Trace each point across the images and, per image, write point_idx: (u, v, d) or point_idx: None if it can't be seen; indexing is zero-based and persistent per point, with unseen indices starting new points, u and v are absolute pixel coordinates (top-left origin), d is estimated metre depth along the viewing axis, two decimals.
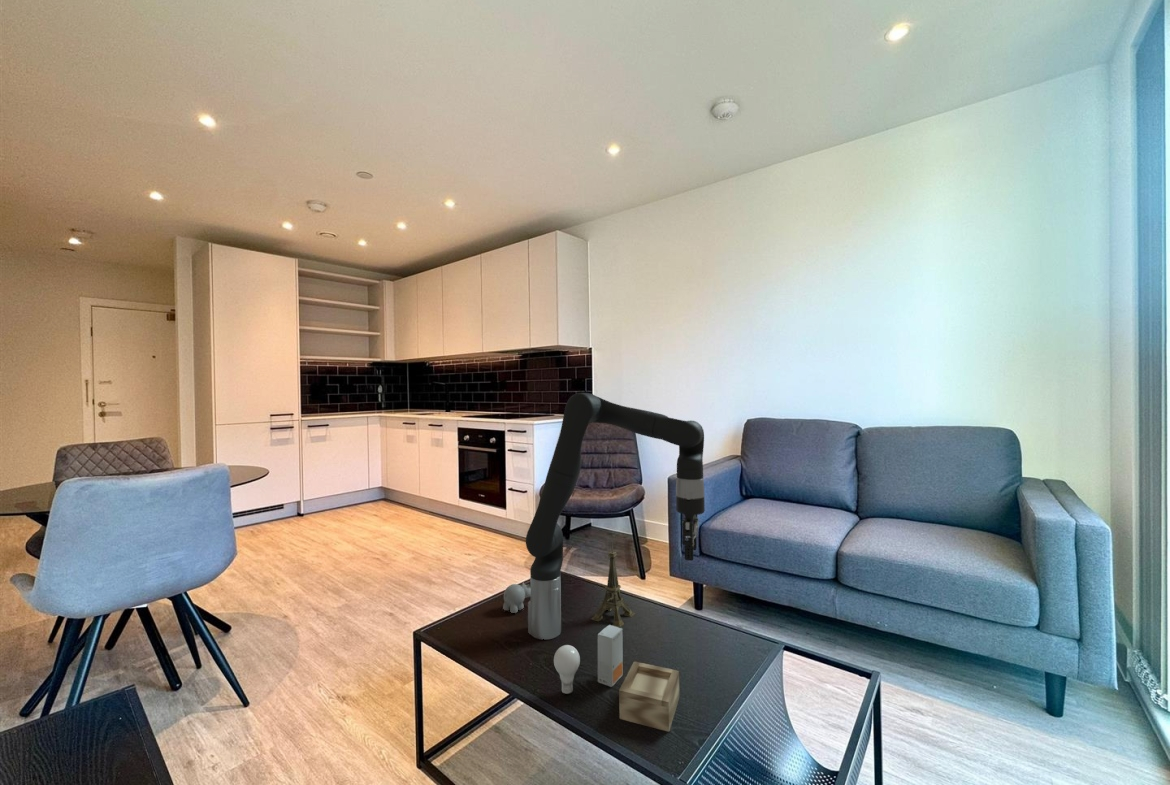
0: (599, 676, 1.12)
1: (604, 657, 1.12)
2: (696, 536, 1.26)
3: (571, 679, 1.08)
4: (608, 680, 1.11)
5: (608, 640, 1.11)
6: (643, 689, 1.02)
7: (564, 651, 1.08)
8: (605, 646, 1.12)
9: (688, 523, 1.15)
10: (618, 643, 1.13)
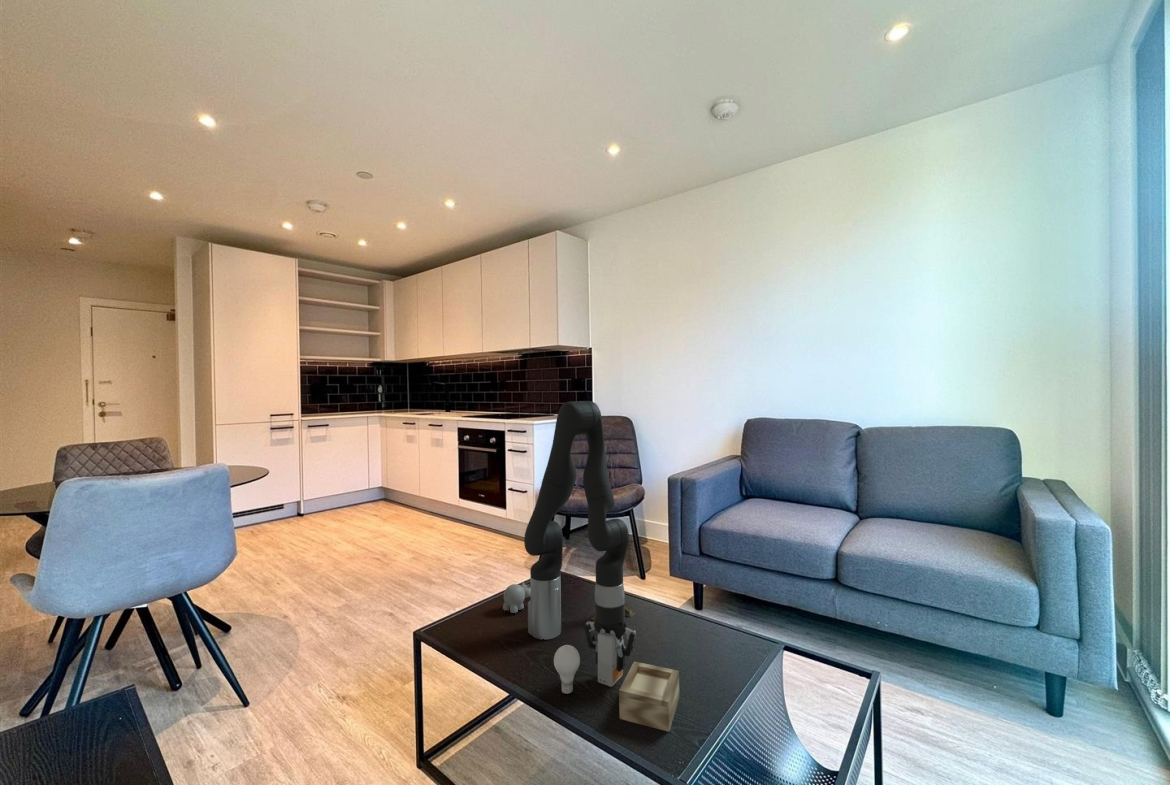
0: (599, 676, 1.12)
1: (604, 657, 1.12)
2: None
3: (571, 679, 1.08)
4: (608, 680, 1.11)
5: (607, 640, 1.11)
6: (643, 689, 1.02)
7: (564, 651, 1.08)
8: (605, 646, 1.12)
9: (635, 632, 1.12)
10: None
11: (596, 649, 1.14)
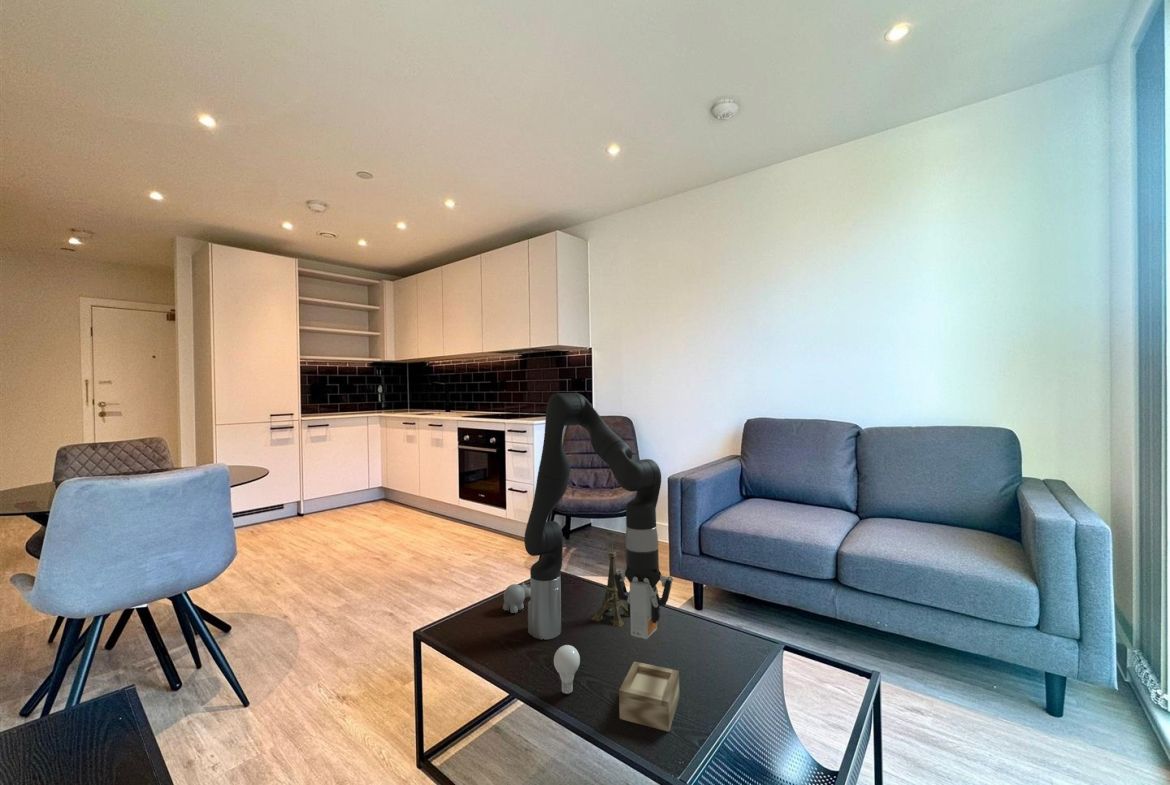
0: (632, 628, 1.03)
1: (638, 607, 1.02)
2: None
3: (571, 679, 1.08)
4: (643, 632, 1.01)
5: (641, 588, 1.02)
6: (643, 689, 1.02)
7: (564, 651, 1.08)
8: (639, 595, 1.02)
9: (671, 580, 1.03)
10: None
11: (628, 600, 1.05)
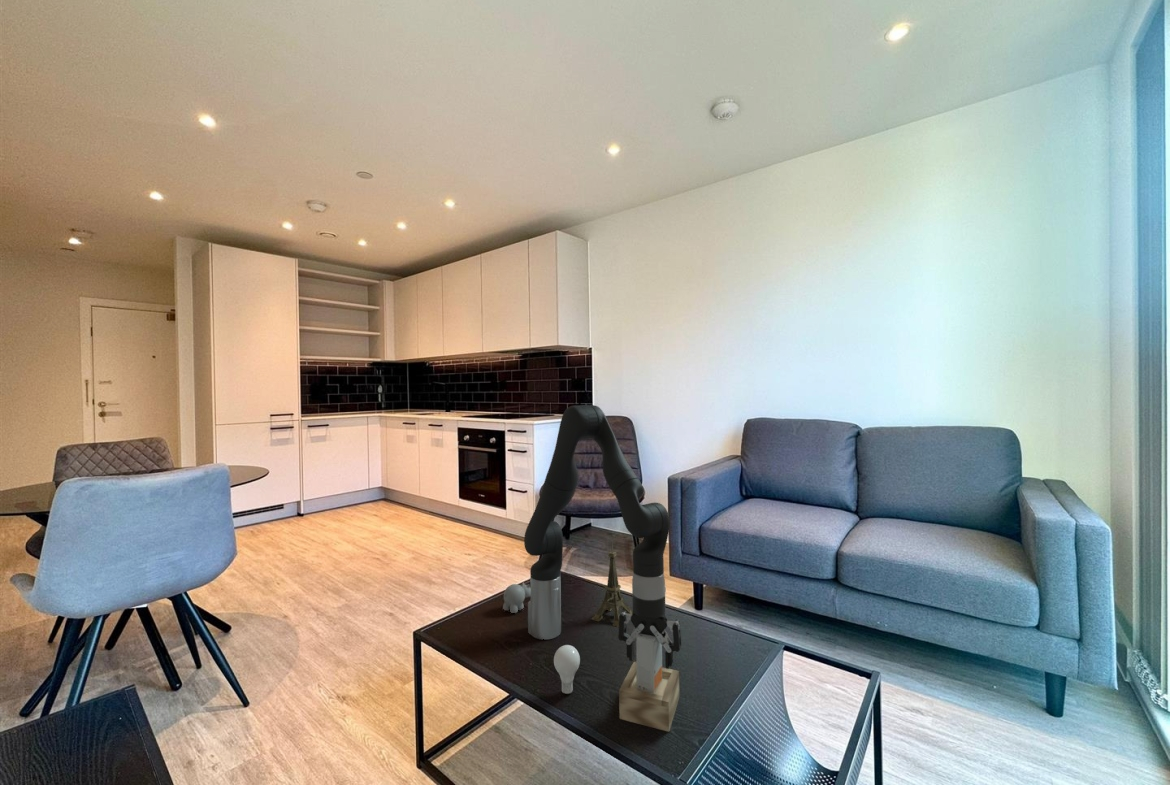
0: (638, 683, 1.01)
1: (644, 662, 1.01)
2: None
3: (571, 679, 1.08)
4: (649, 687, 1.00)
5: (648, 643, 1.00)
6: None
7: (564, 651, 1.08)
8: (646, 649, 1.01)
9: (678, 623, 1.01)
10: (658, 646, 1.03)
11: (627, 641, 1.04)
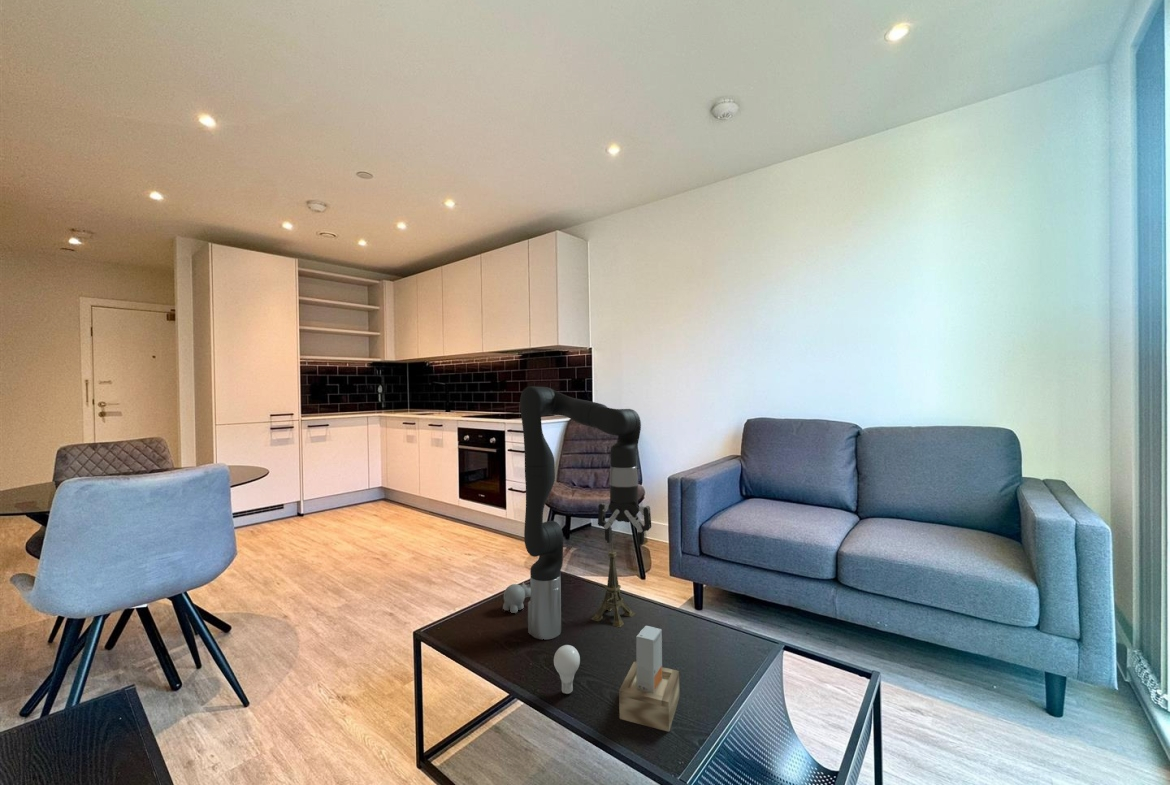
0: (638, 683, 1.01)
1: (644, 662, 1.01)
2: (609, 527, 1.23)
3: (571, 679, 1.08)
4: (649, 687, 1.00)
5: (648, 643, 1.00)
6: None
7: (564, 651, 1.08)
8: (645, 649, 1.01)
9: (648, 507, 1.19)
10: (658, 646, 1.03)
11: (605, 526, 1.21)
